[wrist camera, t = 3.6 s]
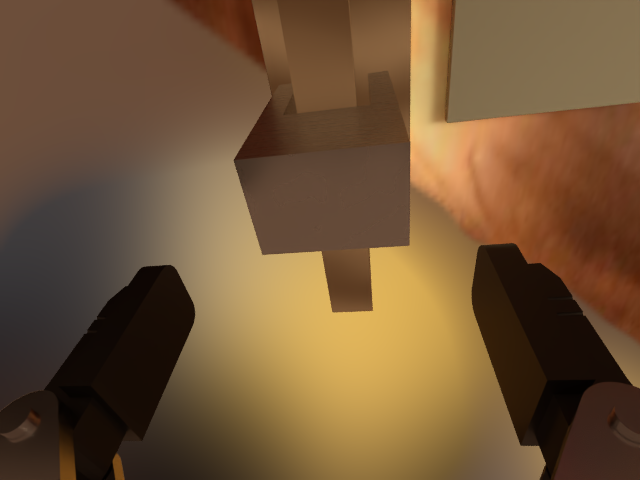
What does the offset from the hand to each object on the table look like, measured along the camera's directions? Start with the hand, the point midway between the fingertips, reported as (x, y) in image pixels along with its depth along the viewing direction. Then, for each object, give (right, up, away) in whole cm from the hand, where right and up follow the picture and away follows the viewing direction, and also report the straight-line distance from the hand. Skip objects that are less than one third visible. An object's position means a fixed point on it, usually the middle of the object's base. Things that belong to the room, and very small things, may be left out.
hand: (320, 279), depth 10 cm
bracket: (+1, +8, +10) cm, 13 cm away
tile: (+14, +15, +11) cm, 23 cm away
